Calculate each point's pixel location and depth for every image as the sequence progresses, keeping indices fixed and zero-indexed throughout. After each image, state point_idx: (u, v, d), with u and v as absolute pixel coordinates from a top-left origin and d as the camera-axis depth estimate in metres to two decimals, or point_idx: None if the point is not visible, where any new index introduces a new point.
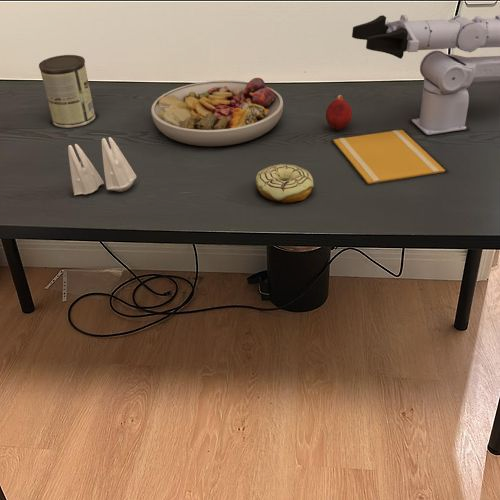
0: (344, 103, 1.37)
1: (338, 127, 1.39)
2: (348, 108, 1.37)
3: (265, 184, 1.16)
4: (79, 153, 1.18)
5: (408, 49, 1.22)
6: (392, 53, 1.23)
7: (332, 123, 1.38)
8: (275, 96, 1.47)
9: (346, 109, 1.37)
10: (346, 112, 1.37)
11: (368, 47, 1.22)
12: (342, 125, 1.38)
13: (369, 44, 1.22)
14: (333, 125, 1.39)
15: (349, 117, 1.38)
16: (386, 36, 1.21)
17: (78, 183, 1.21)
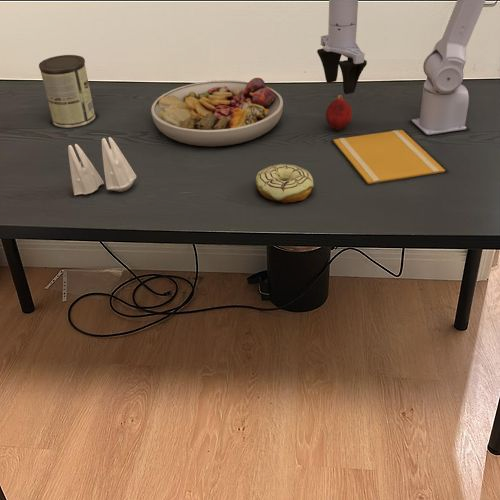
0: (344, 103, 1.37)
1: (338, 127, 1.39)
2: (348, 108, 1.37)
3: (265, 184, 1.16)
4: (79, 153, 1.18)
5: None
6: (361, 70, 1.29)
7: (332, 123, 1.38)
8: (275, 96, 1.47)
9: (346, 109, 1.37)
10: (346, 112, 1.37)
11: (353, 92, 1.33)
12: (342, 125, 1.38)
13: (350, 92, 1.32)
14: (333, 125, 1.39)
15: (349, 117, 1.38)
16: (346, 80, 1.30)
17: (78, 183, 1.21)
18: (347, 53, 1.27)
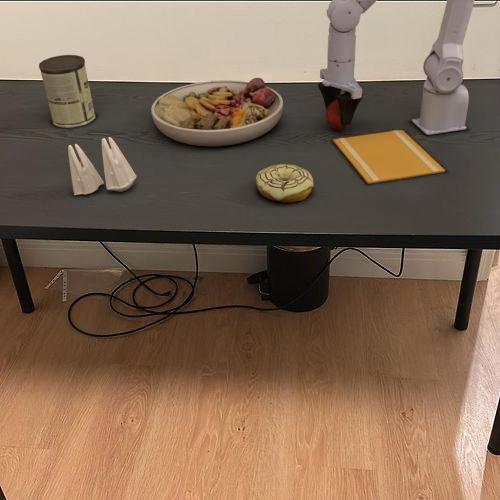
0: None
1: (338, 127, 1.39)
2: None
3: (265, 184, 1.16)
4: (79, 153, 1.18)
5: None
6: (357, 103, 1.34)
7: (332, 123, 1.38)
8: (275, 96, 1.47)
9: None
10: None
11: (349, 123, 1.37)
12: None
13: (347, 123, 1.37)
14: (333, 125, 1.39)
15: None
16: (343, 112, 1.34)
17: (78, 183, 1.21)
18: (345, 88, 1.31)
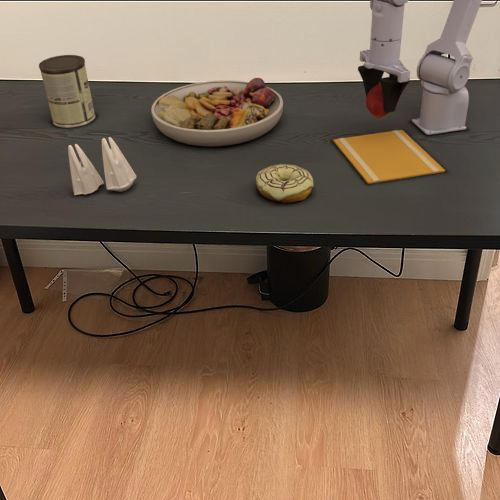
0: None
1: (380, 115, 1.26)
2: None
3: (265, 184, 1.16)
4: (79, 153, 1.18)
5: None
6: (403, 88, 1.21)
7: (373, 110, 1.25)
8: (275, 96, 1.47)
9: None
10: None
11: (393, 110, 1.24)
12: (384, 112, 1.25)
13: (391, 110, 1.24)
14: (374, 112, 1.25)
15: None
16: (387, 98, 1.21)
17: (78, 183, 1.21)
18: (391, 71, 1.17)
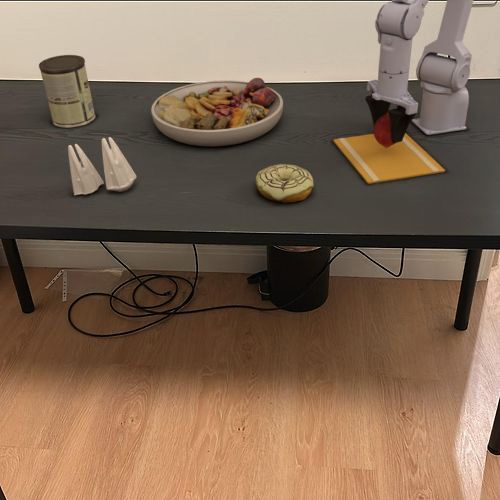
0: None
1: (387, 144, 1.27)
2: None
3: (265, 184, 1.16)
4: (79, 153, 1.18)
5: None
6: (411, 119, 1.22)
7: (381, 140, 1.26)
8: (275, 96, 1.47)
9: None
10: None
11: (401, 140, 1.25)
12: (392, 142, 1.26)
13: (398, 140, 1.25)
14: (382, 142, 1.26)
15: None
16: (395, 129, 1.22)
17: (78, 183, 1.21)
18: (399, 103, 1.18)
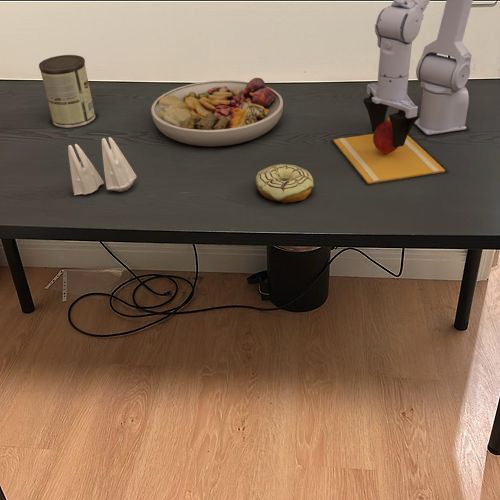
0: None
1: (387, 151, 1.27)
2: None
3: (265, 184, 1.16)
4: (79, 153, 1.18)
5: None
6: (412, 124, 1.22)
7: (381, 147, 1.27)
8: (275, 96, 1.47)
9: None
10: None
11: (402, 145, 1.25)
12: (391, 149, 1.27)
13: (400, 145, 1.25)
14: (381, 149, 1.27)
15: None
16: (396, 133, 1.22)
17: (78, 183, 1.21)
18: (399, 106, 1.19)
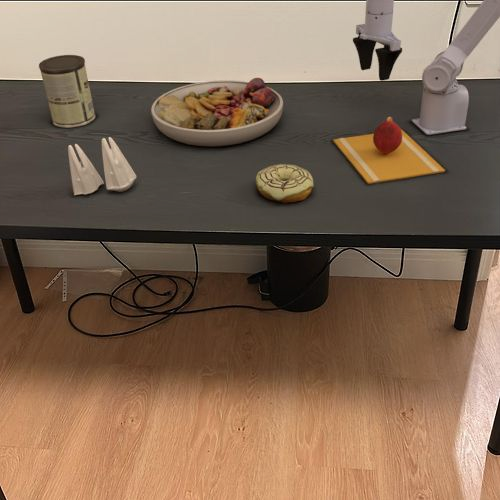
0: (394, 125, 1.25)
1: (387, 151, 1.27)
2: (398, 131, 1.26)
3: (265, 184, 1.16)
4: (79, 153, 1.18)
5: None
6: (396, 58, 1.35)
7: (381, 147, 1.27)
8: (275, 96, 1.47)
9: (397, 132, 1.25)
10: (397, 135, 1.25)
11: (388, 78, 1.38)
12: (391, 149, 1.27)
13: (385, 78, 1.38)
14: (381, 149, 1.27)
15: (400, 140, 1.26)
16: (382, 66, 1.35)
17: (78, 183, 1.21)
18: (384, 40, 1.32)
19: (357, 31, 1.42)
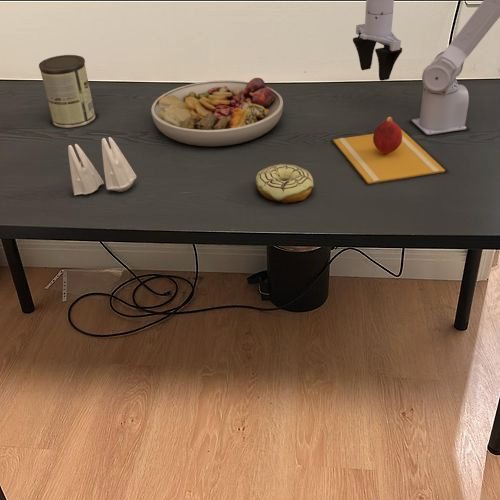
0: (394, 125, 1.25)
1: (387, 151, 1.27)
2: (398, 131, 1.26)
3: (265, 184, 1.16)
4: (79, 153, 1.18)
5: None
6: (396, 57, 1.35)
7: (381, 147, 1.27)
8: (275, 96, 1.47)
9: (397, 132, 1.25)
10: (397, 135, 1.25)
11: (388, 78, 1.38)
12: (391, 149, 1.27)
13: (385, 78, 1.38)
14: (381, 149, 1.27)
15: (400, 140, 1.26)
16: (382, 66, 1.35)
17: (78, 183, 1.21)
18: (384, 40, 1.32)
19: (357, 31, 1.42)
